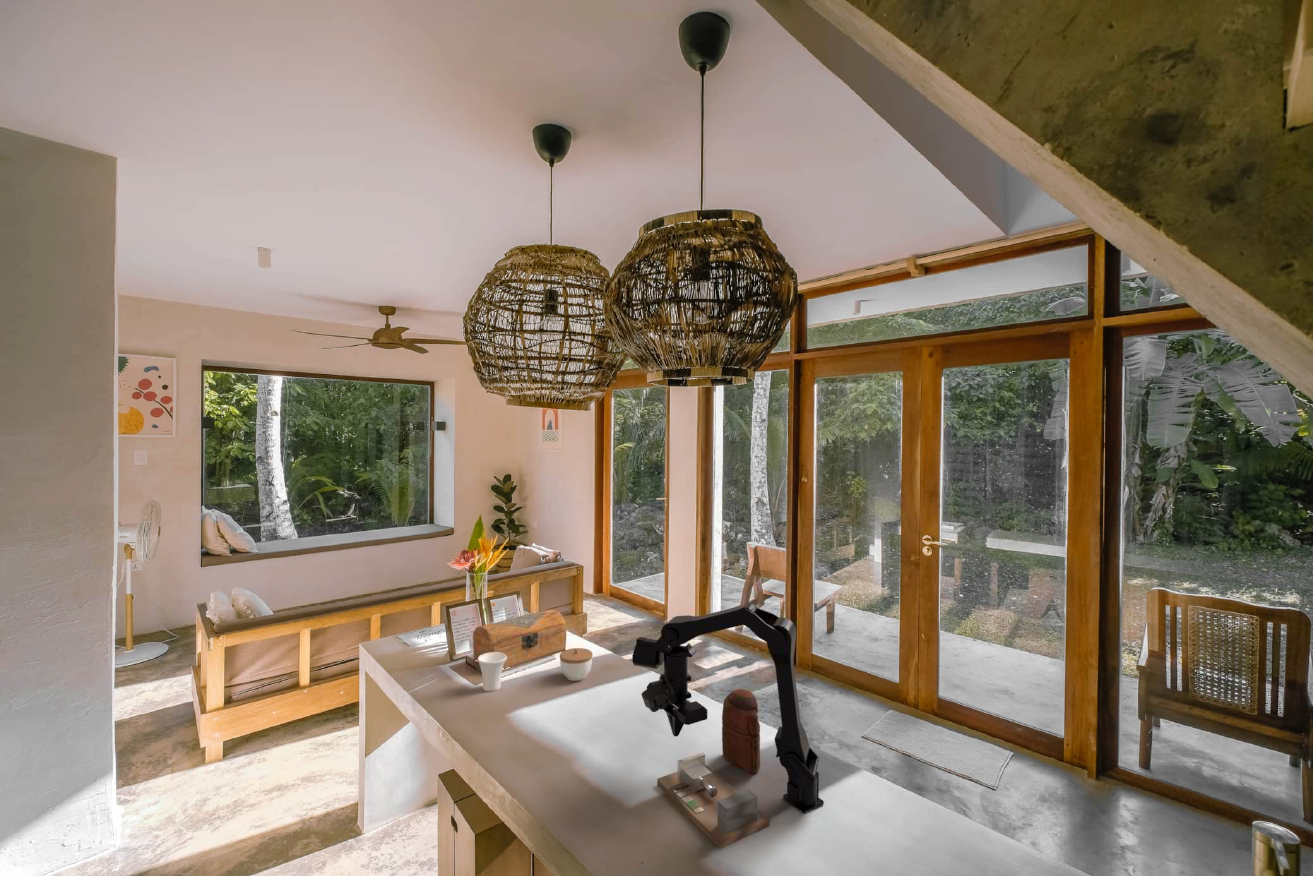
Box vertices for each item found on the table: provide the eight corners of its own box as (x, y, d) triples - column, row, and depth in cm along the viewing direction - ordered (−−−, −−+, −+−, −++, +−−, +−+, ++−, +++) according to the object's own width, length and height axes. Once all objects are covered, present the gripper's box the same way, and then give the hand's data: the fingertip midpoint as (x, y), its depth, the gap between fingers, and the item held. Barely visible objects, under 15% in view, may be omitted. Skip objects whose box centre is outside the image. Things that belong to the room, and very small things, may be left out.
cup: (500, 694, 184) (500, 662, 184) (472, 692, 185) (472, 660, 185) (512, 682, 192) (512, 652, 192) (485, 680, 194) (485, 650, 194)
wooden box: (494, 675, 199) (494, 634, 198) (472, 660, 211) (472, 621, 210) (569, 652, 219) (569, 614, 219) (545, 640, 231) (545, 604, 231)
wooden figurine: (769, 767, 145) (769, 694, 145) (753, 777, 141) (753, 702, 140) (732, 748, 154) (732, 679, 154) (715, 757, 150) (716, 686, 149)
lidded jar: (553, 676, 197) (553, 648, 197) (580, 667, 204) (580, 640, 204) (571, 687, 189) (571, 657, 189) (598, 677, 197) (598, 649, 196)
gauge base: (703, 768, 144) (703, 742, 144) (769, 826, 124) (769, 795, 124) (657, 785, 138) (657, 757, 138) (719, 848, 117) (719, 816, 117)
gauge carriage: (702, 773, 139) (702, 752, 139) (726, 794, 132) (726, 772, 131) (668, 785, 135) (668, 763, 135) (691, 808, 127) (691, 785, 127)
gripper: (627, 664, 147) (628, 727, 147) (667, 694, 131) (667, 764, 131) (666, 656, 152) (666, 716, 153) (708, 683, 136) (708, 750, 137)
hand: (675, 735), depth 143 cm, fingers closed
